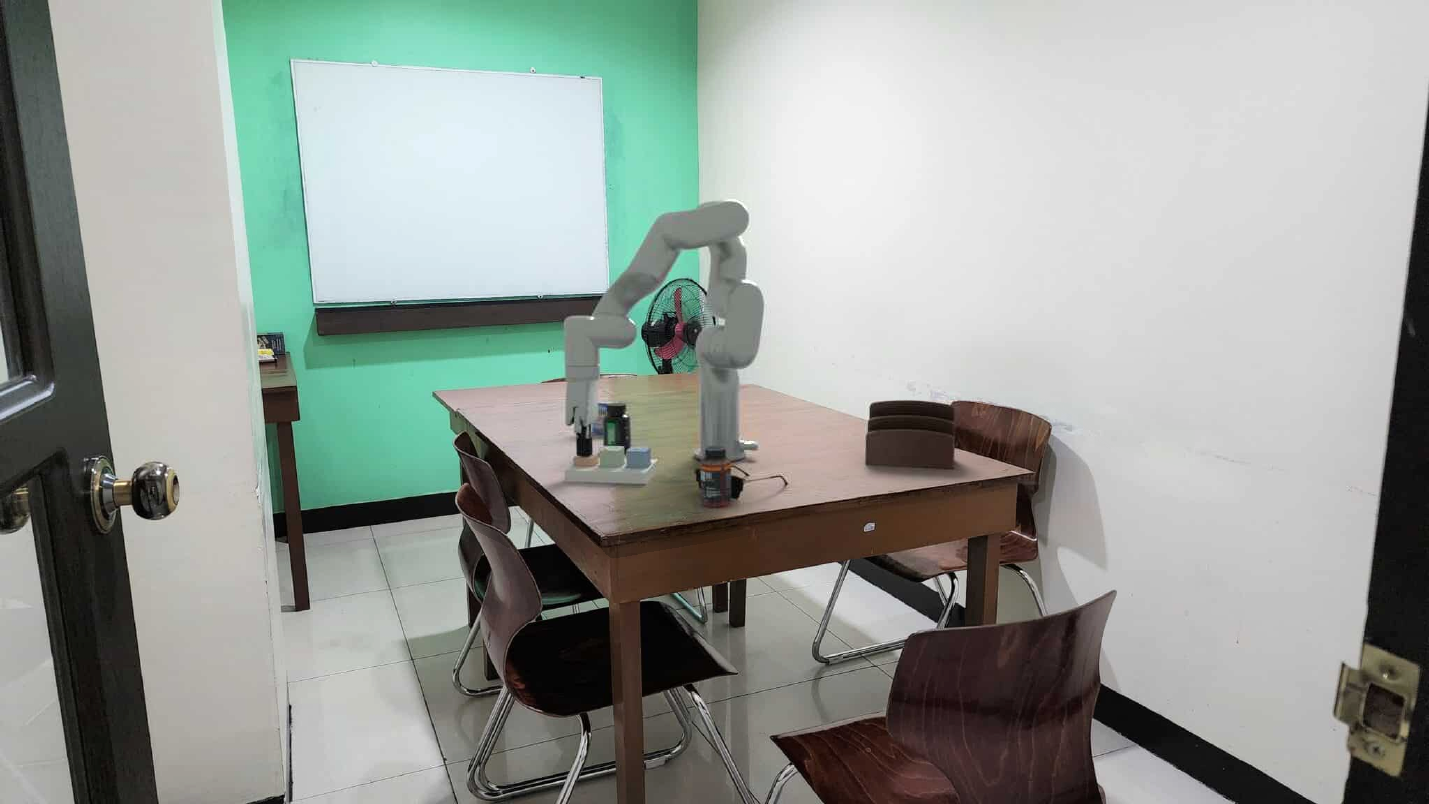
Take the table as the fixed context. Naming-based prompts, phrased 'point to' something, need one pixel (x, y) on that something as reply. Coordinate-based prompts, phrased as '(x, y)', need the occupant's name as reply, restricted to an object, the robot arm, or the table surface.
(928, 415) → the letter holder
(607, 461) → the pale green cube
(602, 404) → the medicine box
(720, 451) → the supplement bottle
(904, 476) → the table surface
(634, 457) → the blue pull-out drawer
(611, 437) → the supplement bottle
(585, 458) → the pink three-dot die
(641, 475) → the board
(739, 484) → the sunglasses
